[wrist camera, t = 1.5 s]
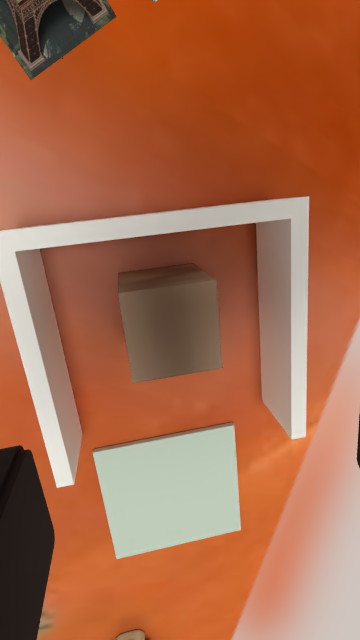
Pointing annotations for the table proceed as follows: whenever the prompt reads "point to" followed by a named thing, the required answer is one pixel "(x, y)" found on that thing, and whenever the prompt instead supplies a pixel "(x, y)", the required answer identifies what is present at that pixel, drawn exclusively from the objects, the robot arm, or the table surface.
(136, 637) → the grandmother figurine
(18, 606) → the robot arm
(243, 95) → the table surface
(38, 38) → the eiffel tower figurine
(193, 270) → the walnut block
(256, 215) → the open side box
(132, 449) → the sage mat
